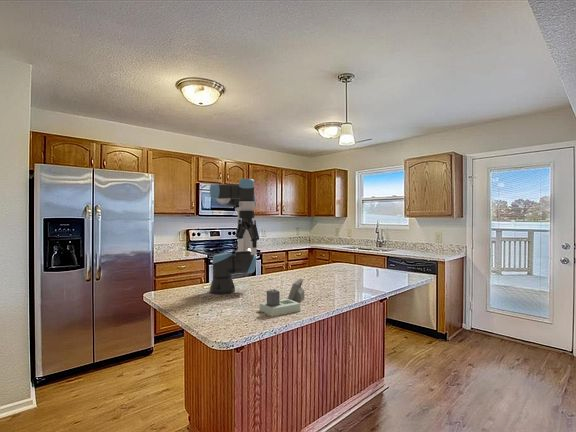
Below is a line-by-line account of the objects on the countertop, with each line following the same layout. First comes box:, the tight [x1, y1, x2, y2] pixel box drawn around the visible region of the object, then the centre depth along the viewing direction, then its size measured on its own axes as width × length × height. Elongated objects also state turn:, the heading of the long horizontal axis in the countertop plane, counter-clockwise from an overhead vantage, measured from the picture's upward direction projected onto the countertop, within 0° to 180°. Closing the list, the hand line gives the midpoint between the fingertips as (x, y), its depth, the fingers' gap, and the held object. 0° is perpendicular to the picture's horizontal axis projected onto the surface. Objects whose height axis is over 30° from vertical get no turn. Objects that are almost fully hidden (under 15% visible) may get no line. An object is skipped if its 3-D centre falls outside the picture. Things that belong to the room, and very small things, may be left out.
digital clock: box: [287, 278, 305, 303], centre depth 177 cm, size 16×9×11 cm, turn 153°
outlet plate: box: [259, 297, 301, 317], centre depth 157 cm, size 12×16×4 cm
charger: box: [266, 288, 280, 307], centre depth 155 cm, size 4×4×11 cm
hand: (246, 252), depth 160 cm, fingers open, 13 cm apart
